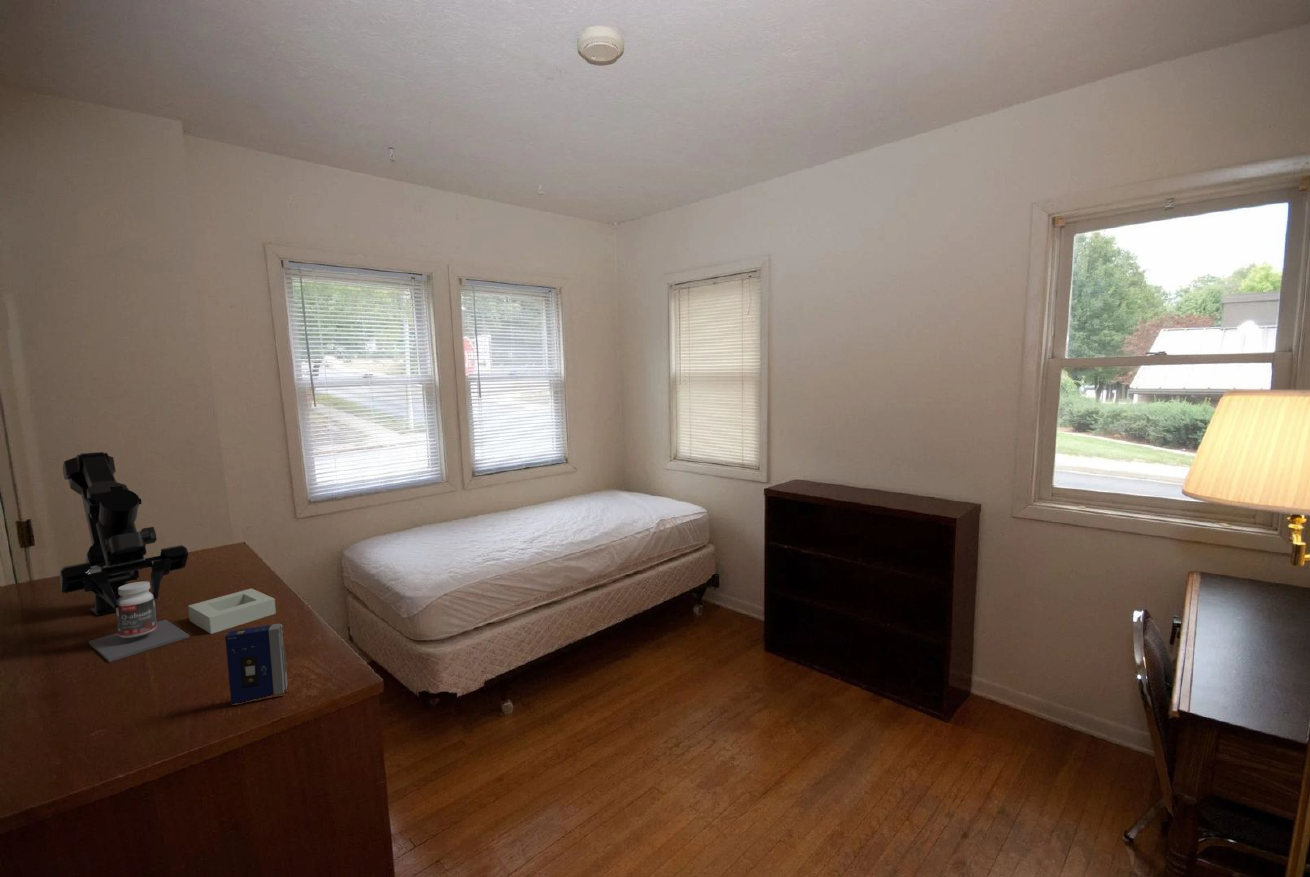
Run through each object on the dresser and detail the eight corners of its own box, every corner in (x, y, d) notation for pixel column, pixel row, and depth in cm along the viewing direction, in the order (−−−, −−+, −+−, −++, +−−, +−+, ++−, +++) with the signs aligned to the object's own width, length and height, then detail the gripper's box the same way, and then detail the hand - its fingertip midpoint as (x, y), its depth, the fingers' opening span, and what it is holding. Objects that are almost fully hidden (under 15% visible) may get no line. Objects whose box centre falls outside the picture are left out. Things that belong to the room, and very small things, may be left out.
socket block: (189, 621, 120) (188, 605, 120) (252, 602, 130) (251, 588, 130) (211, 634, 114) (209, 617, 114) (275, 613, 124) (274, 598, 124)
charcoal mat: (88, 643, 110) (88, 641, 110) (165, 621, 120) (165, 619, 120) (109, 662, 103) (108, 659, 102) (189, 637, 113) (189, 634, 112)
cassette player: (230, 707, 88) (224, 635, 86) (235, 699, 90) (228, 629, 89) (285, 696, 91) (279, 626, 89) (288, 689, 93) (282, 621, 92)
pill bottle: (121, 641, 107) (116, 593, 106) (116, 633, 111) (111, 586, 110) (160, 631, 112) (155, 584, 111) (154, 623, 115) (149, 578, 114)
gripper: (55, 526, 104) (70, 596, 98) (181, 508, 119) (201, 568, 113) (54, 559, 109) (68, 626, 104) (175, 537, 124) (193, 596, 119)
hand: (136, 602), depth 110 cm, fingers closed on pill bottle, 6 cm apart
